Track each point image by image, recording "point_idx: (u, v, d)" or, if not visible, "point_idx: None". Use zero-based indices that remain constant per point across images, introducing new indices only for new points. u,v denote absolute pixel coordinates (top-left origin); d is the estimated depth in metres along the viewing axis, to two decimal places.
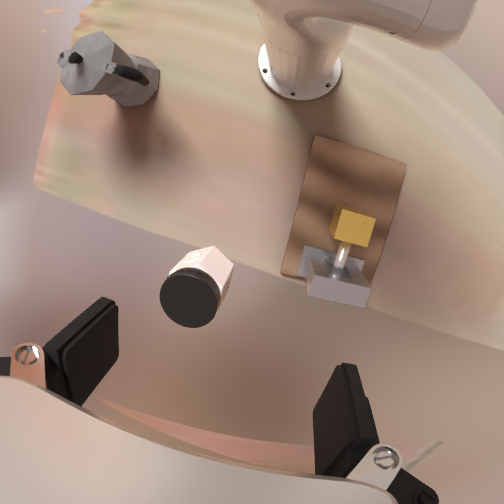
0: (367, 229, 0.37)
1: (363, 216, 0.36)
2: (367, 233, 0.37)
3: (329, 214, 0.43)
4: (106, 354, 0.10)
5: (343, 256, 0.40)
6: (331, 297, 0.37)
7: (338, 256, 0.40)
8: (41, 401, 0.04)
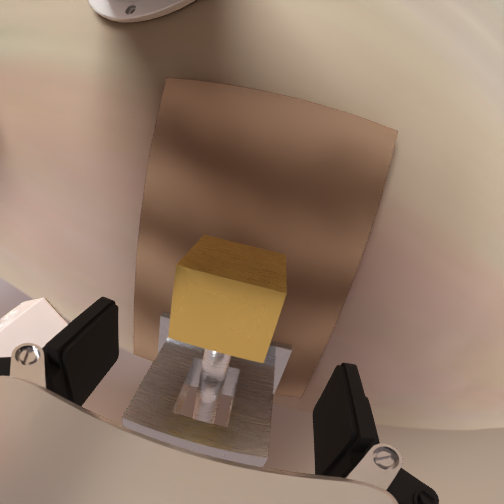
0: (261, 322, 0.13)
1: (244, 286, 0.12)
2: (261, 331, 0.13)
3: None
4: (106, 354, 0.10)
5: (215, 365, 0.16)
6: None
7: (204, 363, 0.16)
8: (41, 401, 0.04)
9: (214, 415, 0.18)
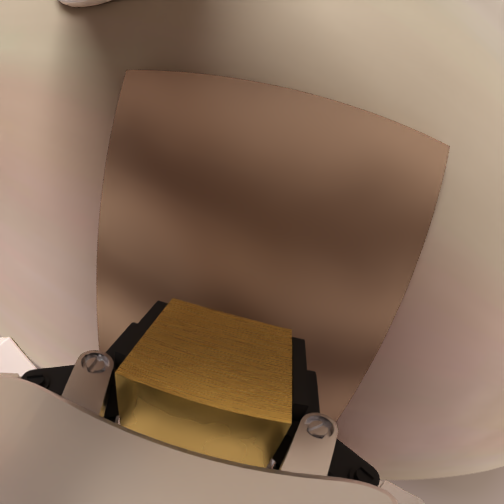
0: (250, 451, 0.07)
1: (222, 413, 0.07)
2: (251, 459, 0.07)
3: None
4: None
5: None
6: None
7: None
8: (41, 401, 0.04)
9: None
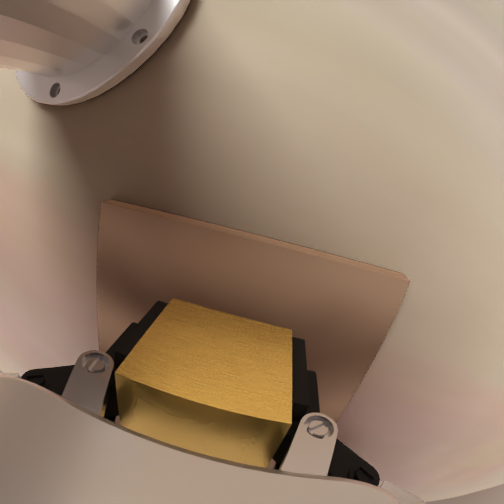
0: (250, 451, 0.07)
1: (222, 413, 0.07)
2: (251, 459, 0.07)
3: None
4: None
5: None
6: None
7: None
8: (41, 401, 0.04)
9: None
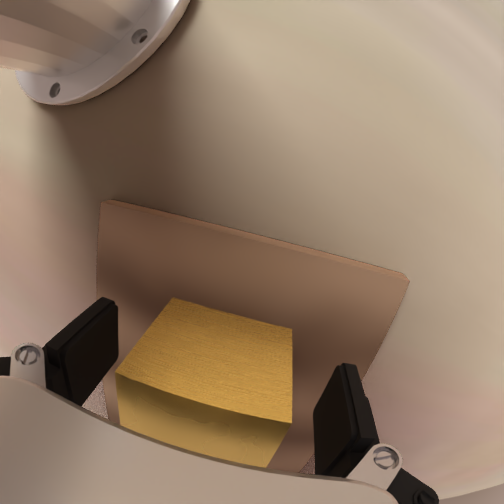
0: (250, 451, 0.07)
1: (223, 412, 0.07)
2: (251, 459, 0.07)
3: None
4: (106, 354, 0.10)
5: None
6: None
7: None
8: (41, 401, 0.04)
9: None
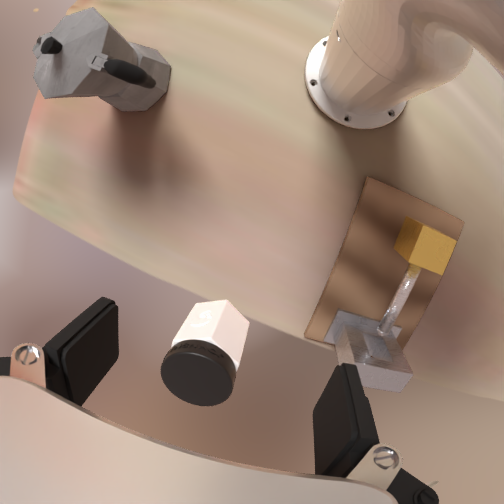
0: (446, 253, 0.26)
1: (444, 236, 0.25)
2: (445, 258, 0.26)
3: (372, 275, 0.34)
4: (106, 354, 0.10)
5: (411, 283, 0.29)
6: (368, 383, 0.28)
7: (405, 283, 0.29)
8: (41, 401, 0.04)
9: None
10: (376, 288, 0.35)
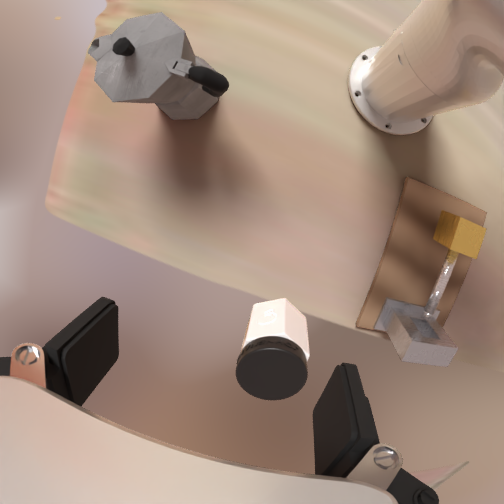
0: (478, 240, 0.28)
1: (477, 225, 0.27)
2: (478, 244, 0.28)
3: (414, 265, 0.36)
4: (106, 354, 0.10)
5: (450, 268, 0.31)
6: (422, 360, 0.30)
7: (445, 268, 0.31)
8: (41, 401, 0.04)
9: (437, 305, 0.33)
10: (418, 276, 0.37)
